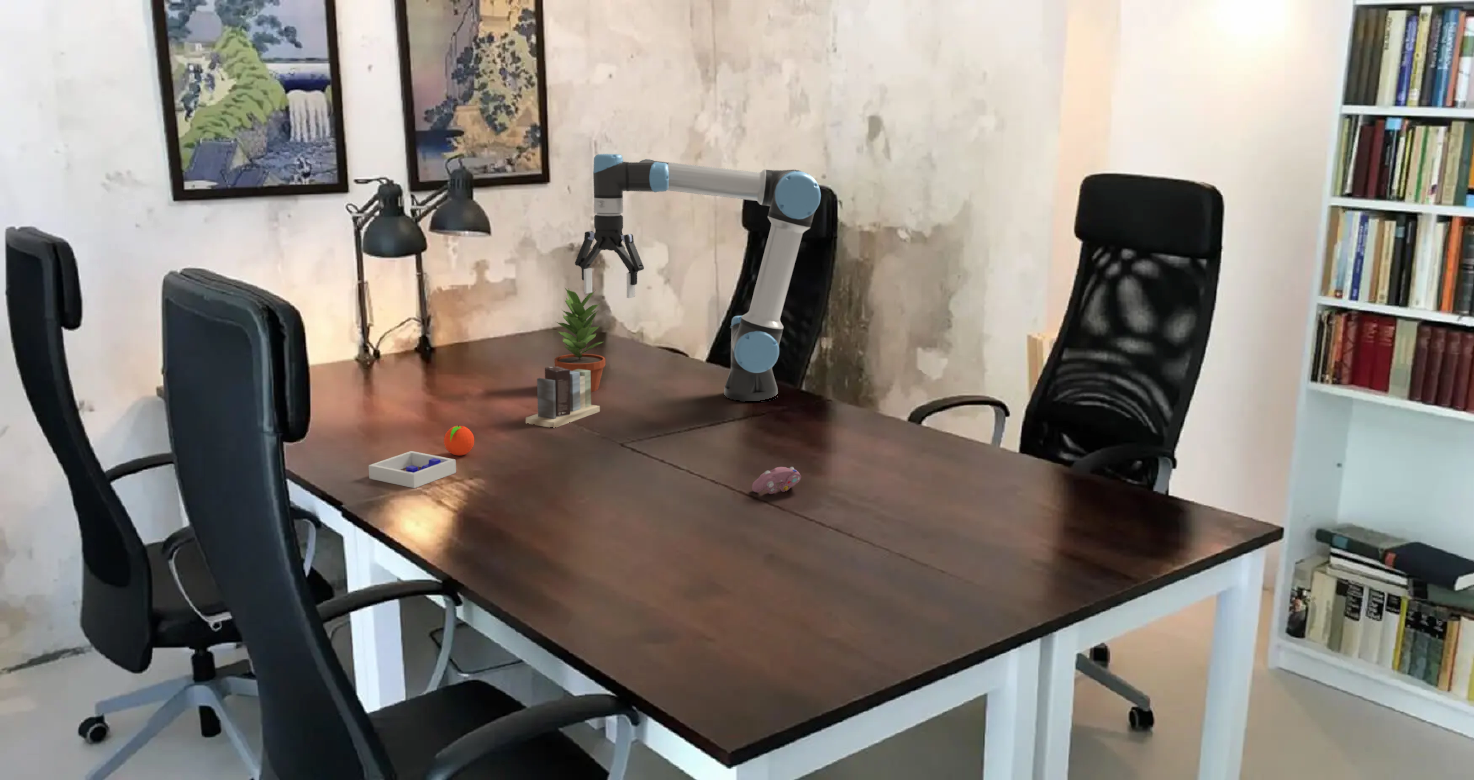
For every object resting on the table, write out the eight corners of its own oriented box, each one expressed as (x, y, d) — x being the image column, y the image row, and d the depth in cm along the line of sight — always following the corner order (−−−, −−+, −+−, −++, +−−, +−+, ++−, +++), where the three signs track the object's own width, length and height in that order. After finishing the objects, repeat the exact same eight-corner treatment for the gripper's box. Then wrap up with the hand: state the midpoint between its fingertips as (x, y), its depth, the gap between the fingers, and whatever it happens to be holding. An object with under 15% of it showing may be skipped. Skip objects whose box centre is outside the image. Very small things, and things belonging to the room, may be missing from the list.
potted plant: (617, 387, 348) (616, 284, 341) (583, 397, 335) (582, 290, 328) (577, 380, 355) (576, 279, 349) (543, 390, 343) (541, 286, 336)
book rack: (599, 411, 320) (599, 369, 317) (554, 428, 303) (553, 383, 300) (572, 407, 324) (571, 365, 321) (525, 423, 307) (524, 379, 304)
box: (571, 414, 310) (570, 369, 307) (556, 417, 307) (555, 371, 304) (559, 410, 315) (558, 365, 312) (544, 412, 312) (543, 367, 309)
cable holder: (430, 474, 264) (429, 457, 263) (441, 477, 262) (440, 459, 262) (402, 483, 258) (401, 465, 257) (413, 486, 256) (412, 468, 255)
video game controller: (758, 503, 253) (766, 478, 249) (748, 488, 256) (756, 464, 252) (798, 496, 257) (806, 472, 253) (788, 482, 260) (796, 458, 256)
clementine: (465, 461, 274) (464, 431, 272) (437, 459, 275) (435, 429, 273) (479, 452, 281) (478, 422, 280) (452, 450, 282) (450, 420, 281)
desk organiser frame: (456, 472, 265) (455, 459, 264) (414, 488, 254) (413, 474, 253) (411, 463, 271) (411, 450, 270) (369, 478, 260) (368, 465, 259)
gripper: (561, 212, 315) (562, 292, 320) (640, 217, 303) (641, 301, 308) (577, 210, 321) (579, 289, 326) (656, 215, 310) (656, 297, 314)
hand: (609, 295), depth 317 cm, fingers open, 13 cm apart
